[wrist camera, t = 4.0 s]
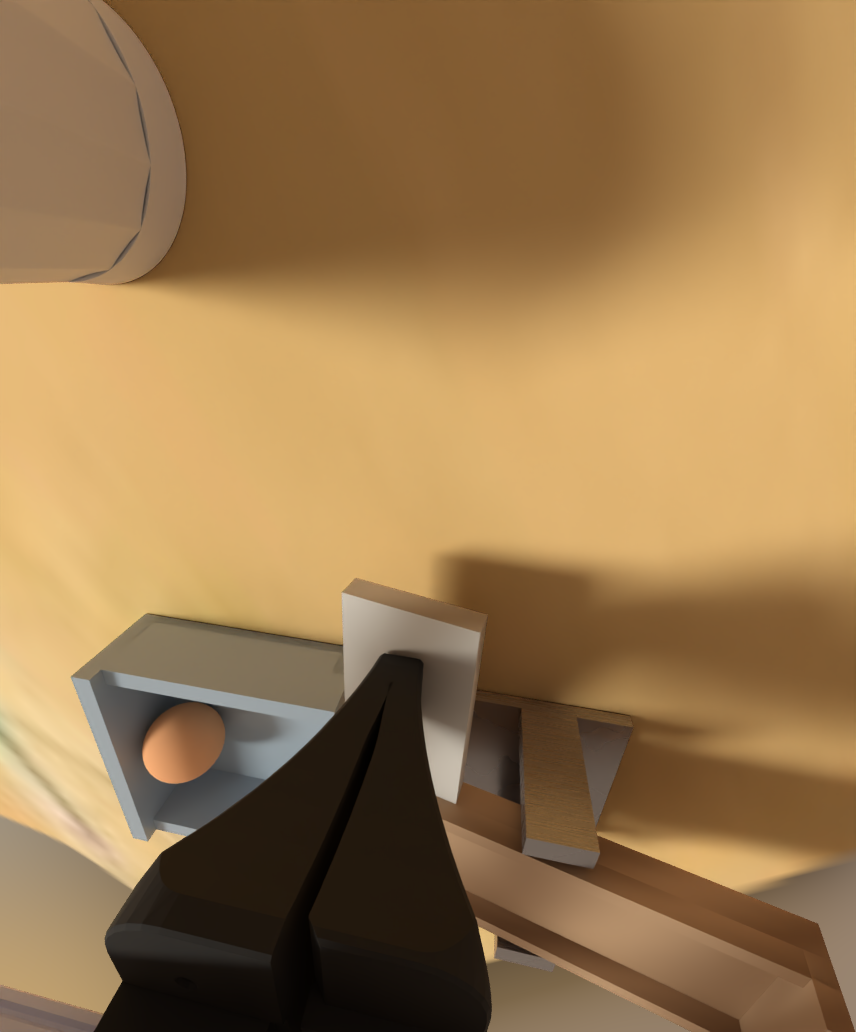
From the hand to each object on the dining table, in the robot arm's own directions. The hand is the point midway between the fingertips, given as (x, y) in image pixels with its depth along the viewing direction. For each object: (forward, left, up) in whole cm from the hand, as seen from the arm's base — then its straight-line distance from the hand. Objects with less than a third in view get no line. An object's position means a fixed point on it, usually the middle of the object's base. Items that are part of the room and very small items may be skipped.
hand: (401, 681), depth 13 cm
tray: (+7, +7, -3) cm, 10 cm away
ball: (+9, +7, -2) cm, 12 cm away
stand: (-5, +7, -3) cm, 9 cm away
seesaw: (-5, +4, 0) cm, 6 cm away
